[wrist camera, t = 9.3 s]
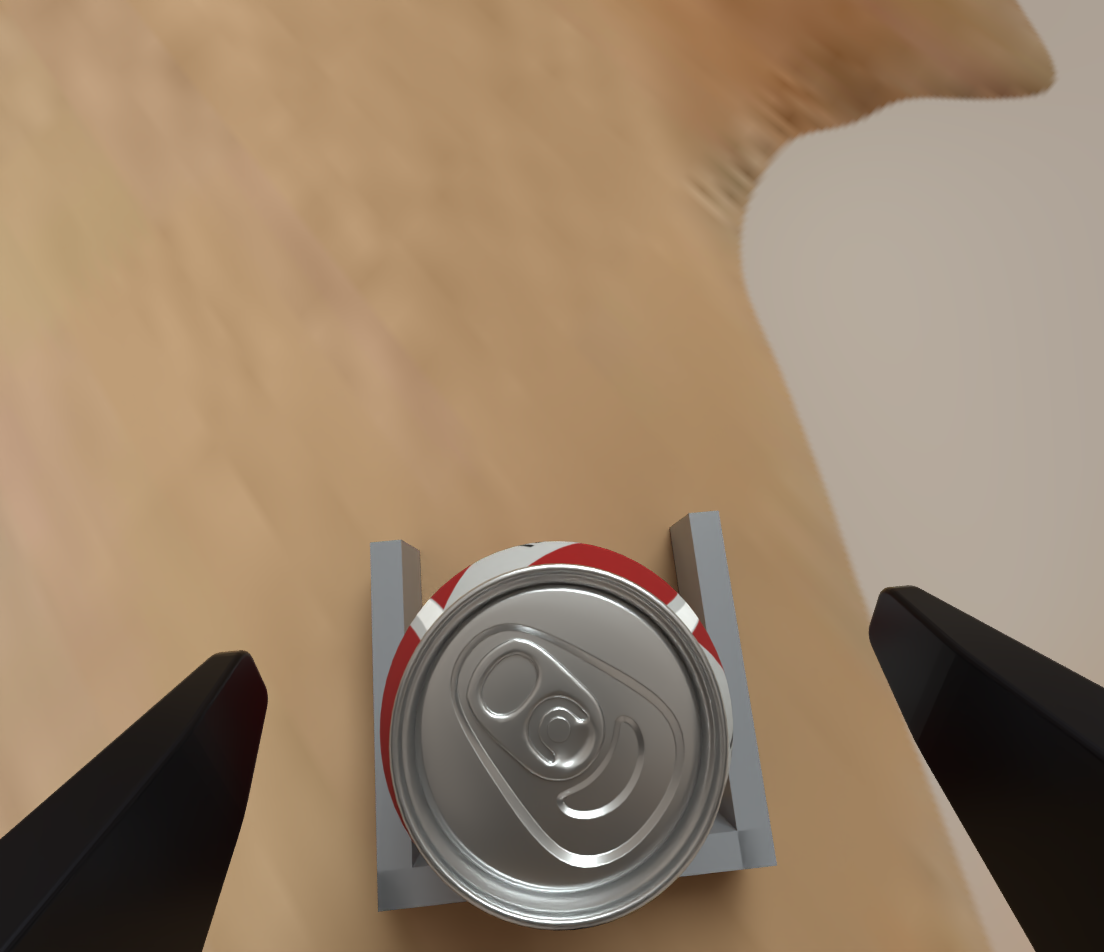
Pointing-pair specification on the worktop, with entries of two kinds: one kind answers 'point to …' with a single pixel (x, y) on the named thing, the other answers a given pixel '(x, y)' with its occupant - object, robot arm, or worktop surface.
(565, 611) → the soda can
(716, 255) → the worktop surface
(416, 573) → the gray bracket
